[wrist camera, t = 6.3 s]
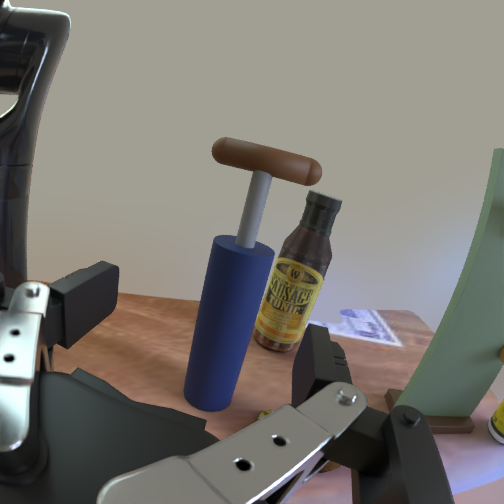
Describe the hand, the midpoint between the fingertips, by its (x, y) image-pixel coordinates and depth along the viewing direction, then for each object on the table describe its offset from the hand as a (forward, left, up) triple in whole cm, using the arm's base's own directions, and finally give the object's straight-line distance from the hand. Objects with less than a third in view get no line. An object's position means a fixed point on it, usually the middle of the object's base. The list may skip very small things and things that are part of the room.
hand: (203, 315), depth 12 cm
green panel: (+27, +10, -15) cm, 32 cm away
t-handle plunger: (+1, +11, -15) cm, 18 cm away
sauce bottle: (+8, +24, -15) cm, 29 cm away
